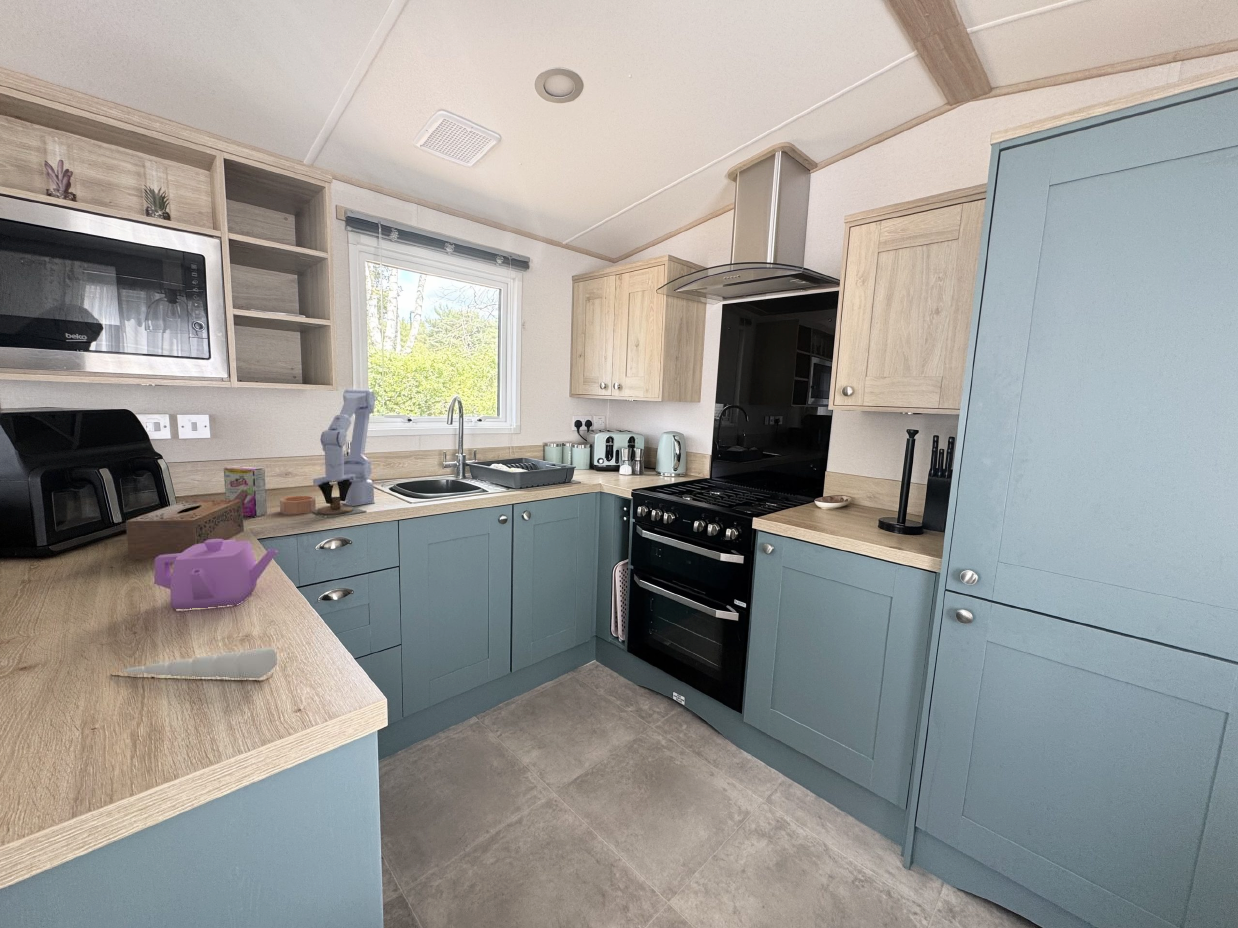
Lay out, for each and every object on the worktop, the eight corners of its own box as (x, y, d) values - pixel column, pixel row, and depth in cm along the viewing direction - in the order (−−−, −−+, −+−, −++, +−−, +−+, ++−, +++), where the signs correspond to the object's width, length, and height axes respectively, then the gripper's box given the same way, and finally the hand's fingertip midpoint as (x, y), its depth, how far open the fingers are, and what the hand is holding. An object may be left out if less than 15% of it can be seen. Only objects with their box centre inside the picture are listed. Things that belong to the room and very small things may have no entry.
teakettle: (234, 578, 120) (230, 526, 118) (284, 590, 113) (281, 535, 112) (144, 604, 104) (138, 544, 102) (197, 621, 98) (192, 557, 96)
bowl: (307, 506, 191) (306, 494, 191) (319, 511, 185) (319, 498, 185) (276, 511, 183) (276, 498, 183) (288, 515, 177) (287, 502, 177)
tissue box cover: (188, 533, 154) (186, 500, 153) (243, 531, 158) (242, 499, 156) (129, 560, 129) (125, 521, 128) (196, 558, 133) (193, 520, 131)
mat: (348, 506, 194) (348, 505, 194) (366, 512, 186) (366, 511, 186) (311, 512, 184) (311, 510, 184) (328, 518, 176) (328, 517, 176)
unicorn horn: (133, 664, 82) (130, 635, 82) (281, 671, 82) (279, 642, 82) (103, 680, 78) (100, 650, 77) (260, 687, 78) (258, 657, 77)
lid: (338, 506, 192) (337, 493, 191) (360, 510, 187) (360, 496, 187) (309, 512, 181) (309, 498, 181) (332, 516, 177) (332, 501, 176)
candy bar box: (225, 515, 174) (222, 467, 172) (237, 512, 179) (234, 465, 177) (256, 517, 173) (253, 469, 171) (267, 514, 178) (265, 467, 176)
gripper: (346, 461, 190) (347, 497, 192) (306, 465, 177) (308, 504, 179) (358, 463, 187) (359, 500, 189) (319, 467, 174) (321, 506, 176)
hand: (335, 502), depth 184 cm, fingers open, 5 cm apart
